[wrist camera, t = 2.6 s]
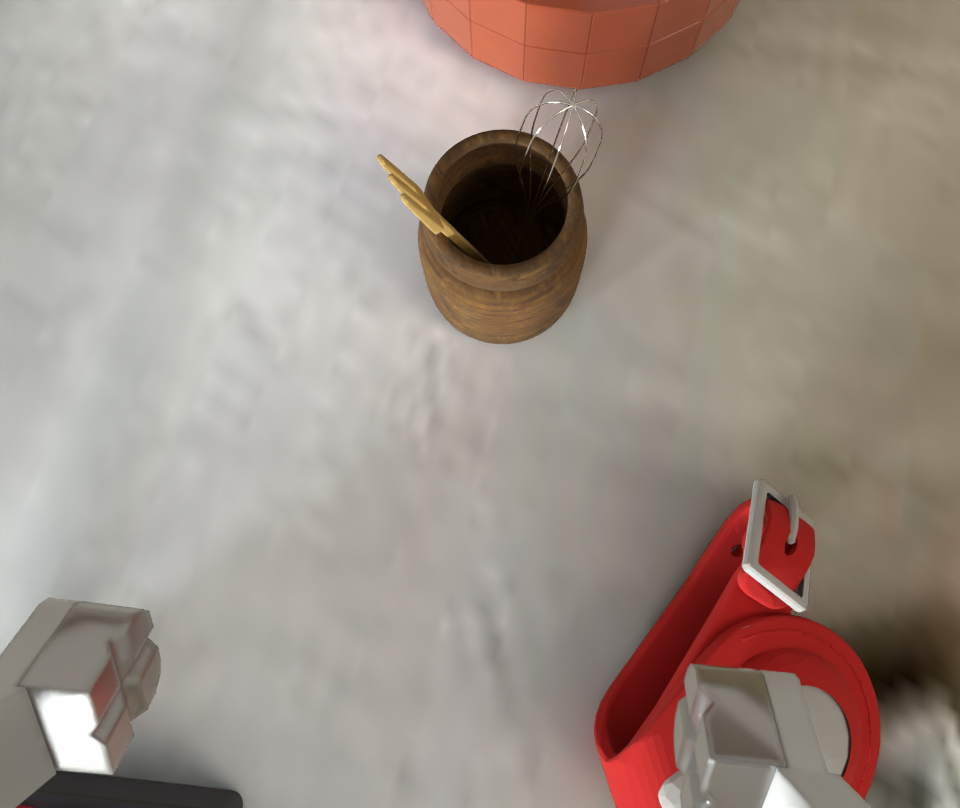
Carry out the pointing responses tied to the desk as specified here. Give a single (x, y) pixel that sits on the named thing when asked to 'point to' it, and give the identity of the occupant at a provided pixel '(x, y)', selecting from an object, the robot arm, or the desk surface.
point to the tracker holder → (738, 655)
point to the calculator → (125, 794)
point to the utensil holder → (501, 230)
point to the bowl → (580, 36)
